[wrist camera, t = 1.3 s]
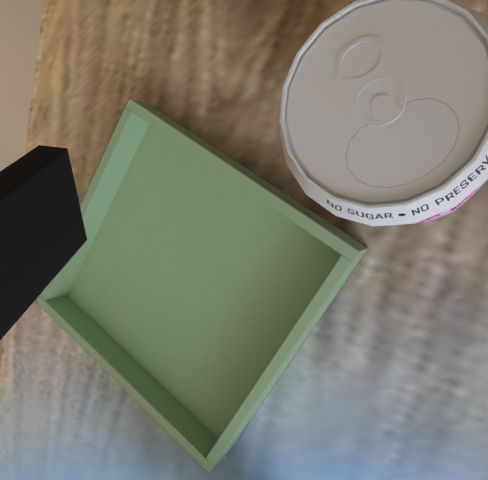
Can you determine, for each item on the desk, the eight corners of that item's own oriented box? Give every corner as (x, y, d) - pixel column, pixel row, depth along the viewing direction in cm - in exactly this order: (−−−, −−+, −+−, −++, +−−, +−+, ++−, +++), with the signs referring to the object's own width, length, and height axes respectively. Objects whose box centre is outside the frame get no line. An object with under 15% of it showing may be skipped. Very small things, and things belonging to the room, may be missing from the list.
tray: (154, 107, 36) (129, 97, 34) (368, 248, 30) (359, 251, 27) (63, 296, 42) (35, 302, 39) (228, 453, 35) (208, 473, 32)
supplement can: (513, 187, 26) (581, 153, 12) (379, 242, 29) (316, 263, 16) (452, 66, 27) (454, -88, 13) (330, 133, 30) (231, 64, 17)
